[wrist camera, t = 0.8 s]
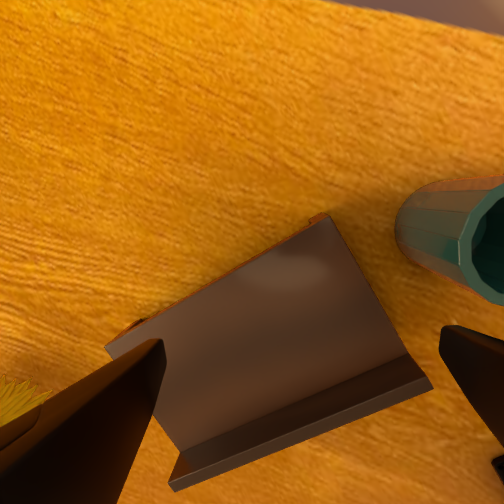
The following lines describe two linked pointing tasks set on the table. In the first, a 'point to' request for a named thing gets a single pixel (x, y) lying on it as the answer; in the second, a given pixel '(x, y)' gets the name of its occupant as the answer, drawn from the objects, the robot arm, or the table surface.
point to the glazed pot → (458, 233)
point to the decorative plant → (17, 399)
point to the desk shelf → (273, 355)
